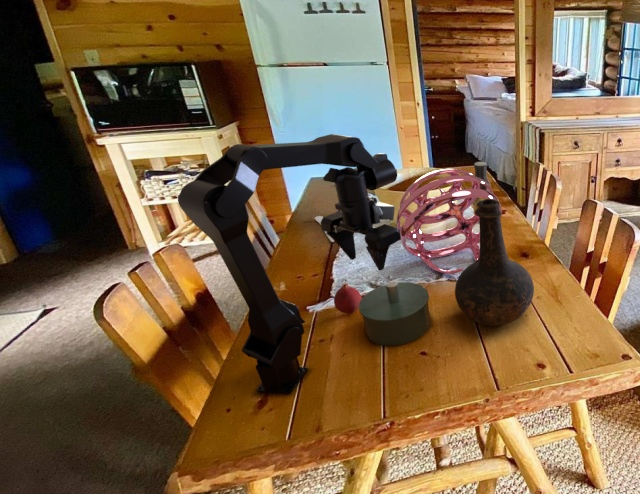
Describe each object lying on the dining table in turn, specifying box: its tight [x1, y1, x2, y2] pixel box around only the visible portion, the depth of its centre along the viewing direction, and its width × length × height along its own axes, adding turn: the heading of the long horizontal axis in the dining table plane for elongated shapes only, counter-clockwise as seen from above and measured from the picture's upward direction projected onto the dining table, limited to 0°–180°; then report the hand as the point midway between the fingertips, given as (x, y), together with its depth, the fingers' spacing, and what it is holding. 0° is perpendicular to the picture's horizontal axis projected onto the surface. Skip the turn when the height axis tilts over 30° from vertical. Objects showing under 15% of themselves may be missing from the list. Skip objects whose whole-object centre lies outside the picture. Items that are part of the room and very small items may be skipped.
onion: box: [333, 282, 363, 315], centre depth 101 cm, size 6×6×8 cm
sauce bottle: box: [472, 161, 492, 216], centre depth 147 cm, size 7×6×20 cm
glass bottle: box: [454, 199, 535, 327], centre depth 96 cm, size 18×18×28 cm
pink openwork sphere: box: [396, 168, 503, 275], centre depth 118 cm, size 28×28×27 cm
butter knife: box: [313, 215, 335, 243], centre depth 144 cm, size 1×24×3 cm
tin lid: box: [358, 280, 430, 322], centre depth 95 cm, size 15×15×5 cm
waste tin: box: [362, 302, 431, 347], centre depth 97 cm, size 14×14×6 cm
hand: (367, 264), depth 97 cm, fingers open, 9 cm apart
